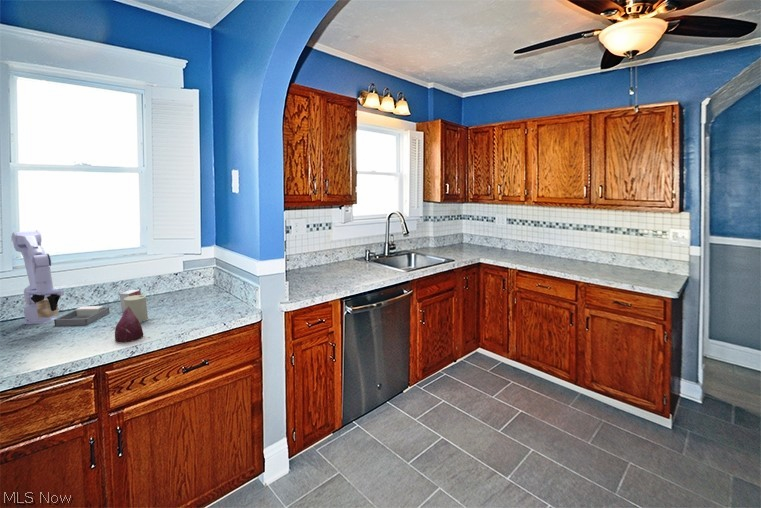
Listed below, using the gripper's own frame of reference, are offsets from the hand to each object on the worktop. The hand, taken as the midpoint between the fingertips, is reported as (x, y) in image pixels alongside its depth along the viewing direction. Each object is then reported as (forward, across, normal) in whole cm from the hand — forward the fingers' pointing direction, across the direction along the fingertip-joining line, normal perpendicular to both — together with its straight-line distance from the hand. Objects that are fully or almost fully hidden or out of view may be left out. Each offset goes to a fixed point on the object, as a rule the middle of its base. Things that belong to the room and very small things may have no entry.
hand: (48, 310), depth 179 cm
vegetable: (+9, +40, -12) cm, 43 cm away
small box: (+9, +22, +26) cm, 35 cm away
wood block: (+2, 0, 0) cm, 2 cm away
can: (+9, +32, +11) cm, 35 cm away
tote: (+9, +6, +13) cm, 17 cm away
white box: (+9, +6, +18) cm, 21 cm away
